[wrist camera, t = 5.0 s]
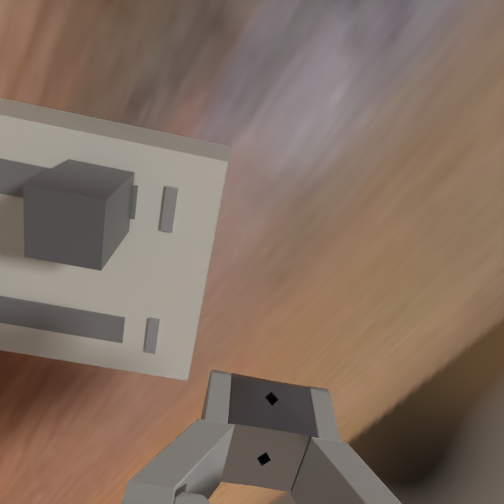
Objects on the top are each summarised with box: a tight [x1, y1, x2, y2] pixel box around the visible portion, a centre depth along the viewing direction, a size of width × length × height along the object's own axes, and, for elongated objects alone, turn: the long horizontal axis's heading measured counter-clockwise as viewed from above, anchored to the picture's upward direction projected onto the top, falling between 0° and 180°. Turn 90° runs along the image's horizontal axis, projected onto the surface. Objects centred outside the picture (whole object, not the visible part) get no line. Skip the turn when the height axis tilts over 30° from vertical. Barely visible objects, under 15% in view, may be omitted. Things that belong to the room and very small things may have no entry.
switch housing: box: [0, 98, 232, 381], centre depth 25 cm, size 14×20×4 cm
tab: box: [23, 159, 135, 271], centre depth 19 cm, size 3×3×4 cm
